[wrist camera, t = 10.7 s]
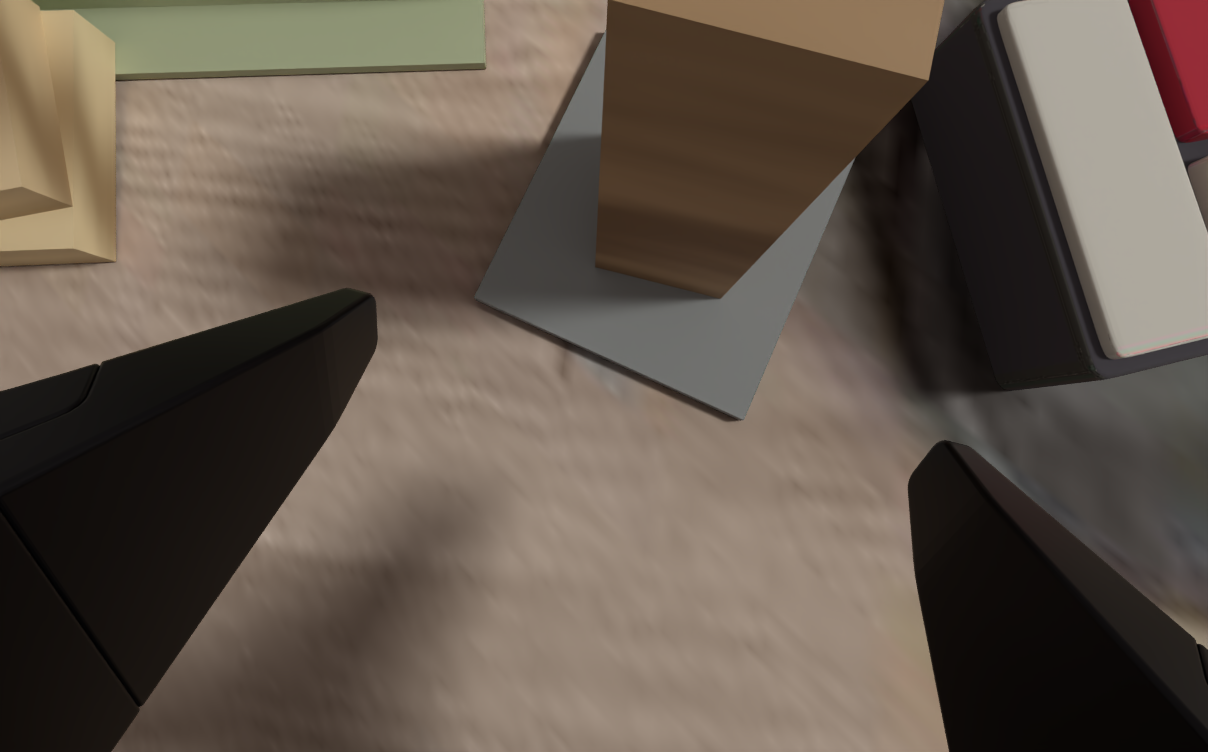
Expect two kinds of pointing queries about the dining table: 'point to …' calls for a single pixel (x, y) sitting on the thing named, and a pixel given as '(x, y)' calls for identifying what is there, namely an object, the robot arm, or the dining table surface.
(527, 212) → the felt pad
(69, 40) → the offcut lower
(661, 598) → the dining table surface
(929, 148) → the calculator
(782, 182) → the brown wooden block
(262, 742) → the dining table surface
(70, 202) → the offcut upper
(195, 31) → the green flanged rail
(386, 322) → the dining table surface
